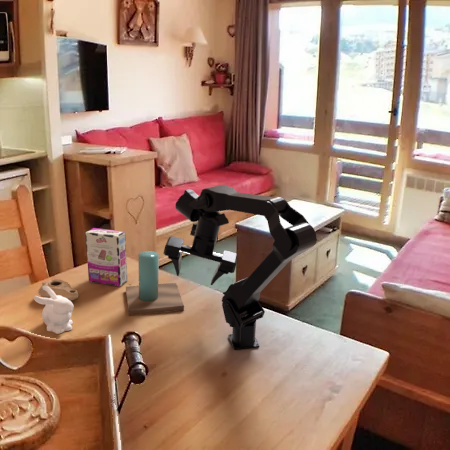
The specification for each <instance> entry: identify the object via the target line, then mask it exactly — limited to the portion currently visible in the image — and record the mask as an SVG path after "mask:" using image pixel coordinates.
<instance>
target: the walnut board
mask: <svg viewBox="0 0 450 450" xmlns="http://www.w3.org/2000/svg"><path fill="white" fill-rule="evenodd" d="M125 294H126V301H127V310H128V316H137V315H148V314H157V313H158V314H160V313H169V312H170V313H171V312H182V311H184V309H185V306H184V302H183V299H182V296H181V292H180V291H179V288H178V284H177V282H168V283H167V282H166V283H158V299H156V300H154V301H142V300H140V299H139V285H129V286H125Z"/></svg>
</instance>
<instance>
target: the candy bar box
mask: <svg viewBox="0 0 450 450" xmlns="http://www.w3.org/2000/svg"><path fill="white" fill-rule="evenodd" d="M85 244H86V259H87V276H88V282H89V283H94V284H95V283H96V284H101V285H106V286H108V285H109V286H114V287H122V286H123V285H124V284H125V283H127V281H128V266H127V265H128V264H127V245H126V231H123V230H122V231H121V230H113V229H105V228H97V227H92V228H90V229H88V230H87V231H86V232H85Z"/></svg>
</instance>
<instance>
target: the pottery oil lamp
mask: <svg viewBox="0 0 450 450" xmlns="http://www.w3.org/2000/svg"><path fill="white" fill-rule="evenodd" d="M45 285H46V286H48V287H49V288H51V289H52V290H53V291H54V293H55V294H56V295H60V296H62V297H65V298H67V299H68V300H70V301H74V300H76V299H78V297H79V291H78V290H77V289H75V288H74V287H72V286H71V285H70V283H69V282H67V281H65V280H62V279H60V278H59V279H58V278H54V279H51V280H45V281H44V280H43V281H42V282H41V286H40V288H39V289H37V290H38V291H37V293H38V295H39V296H40V297H43V298H51V296H50V295H49V294H48V293H47V291H45V290H43V288H42V287H43V286H45Z"/></svg>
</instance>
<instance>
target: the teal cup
mask: <svg viewBox="0 0 450 450" xmlns="http://www.w3.org/2000/svg"><path fill="white" fill-rule="evenodd" d="M159 256H160V255H159V253H158V252H156V251H154V250H152V251H151V250H145V251H142V252H139V253H138V286H139V299H140V300H142V301H154V300H156V299H158V284H159V272H160V271H159V269H160V268H159V267H160V266H159V265H160V264H159V262H160V261H159V258H160V257H159Z"/></svg>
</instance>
